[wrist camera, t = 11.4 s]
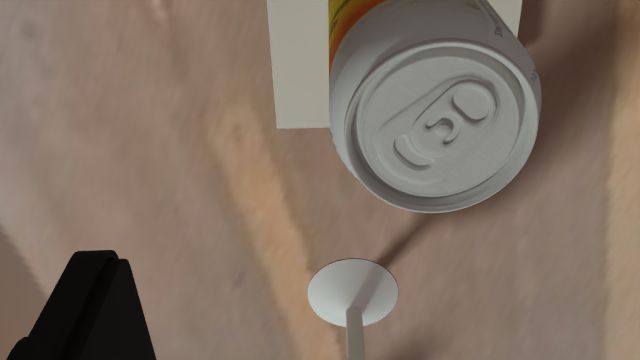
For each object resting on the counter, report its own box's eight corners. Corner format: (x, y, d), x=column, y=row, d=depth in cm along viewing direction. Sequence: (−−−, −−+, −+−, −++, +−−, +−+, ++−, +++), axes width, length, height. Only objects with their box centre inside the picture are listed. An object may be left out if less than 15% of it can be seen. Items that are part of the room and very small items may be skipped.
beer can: (302, -8, 30) (283, 140, 17) (393, -110, 27) (452, -27, 14) (389, 72, 32) (431, 256, 19) (481, -16, 29) (600, 129, 17)
